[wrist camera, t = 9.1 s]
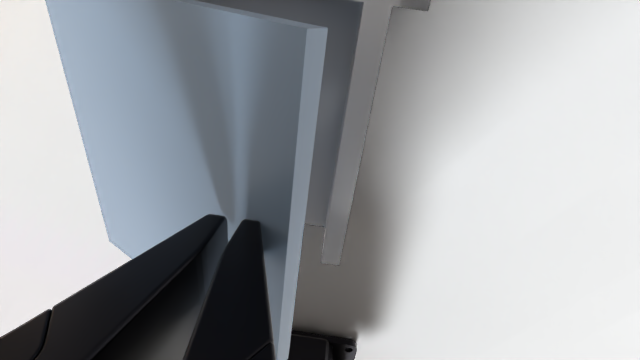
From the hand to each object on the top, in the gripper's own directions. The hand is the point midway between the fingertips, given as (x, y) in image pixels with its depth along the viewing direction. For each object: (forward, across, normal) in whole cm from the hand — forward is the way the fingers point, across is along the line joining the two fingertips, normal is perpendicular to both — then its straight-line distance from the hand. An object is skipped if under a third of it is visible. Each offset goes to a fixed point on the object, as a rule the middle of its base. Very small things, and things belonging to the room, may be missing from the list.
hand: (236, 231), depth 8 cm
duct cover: (+2, +2, 0) cm, 3 cm away
